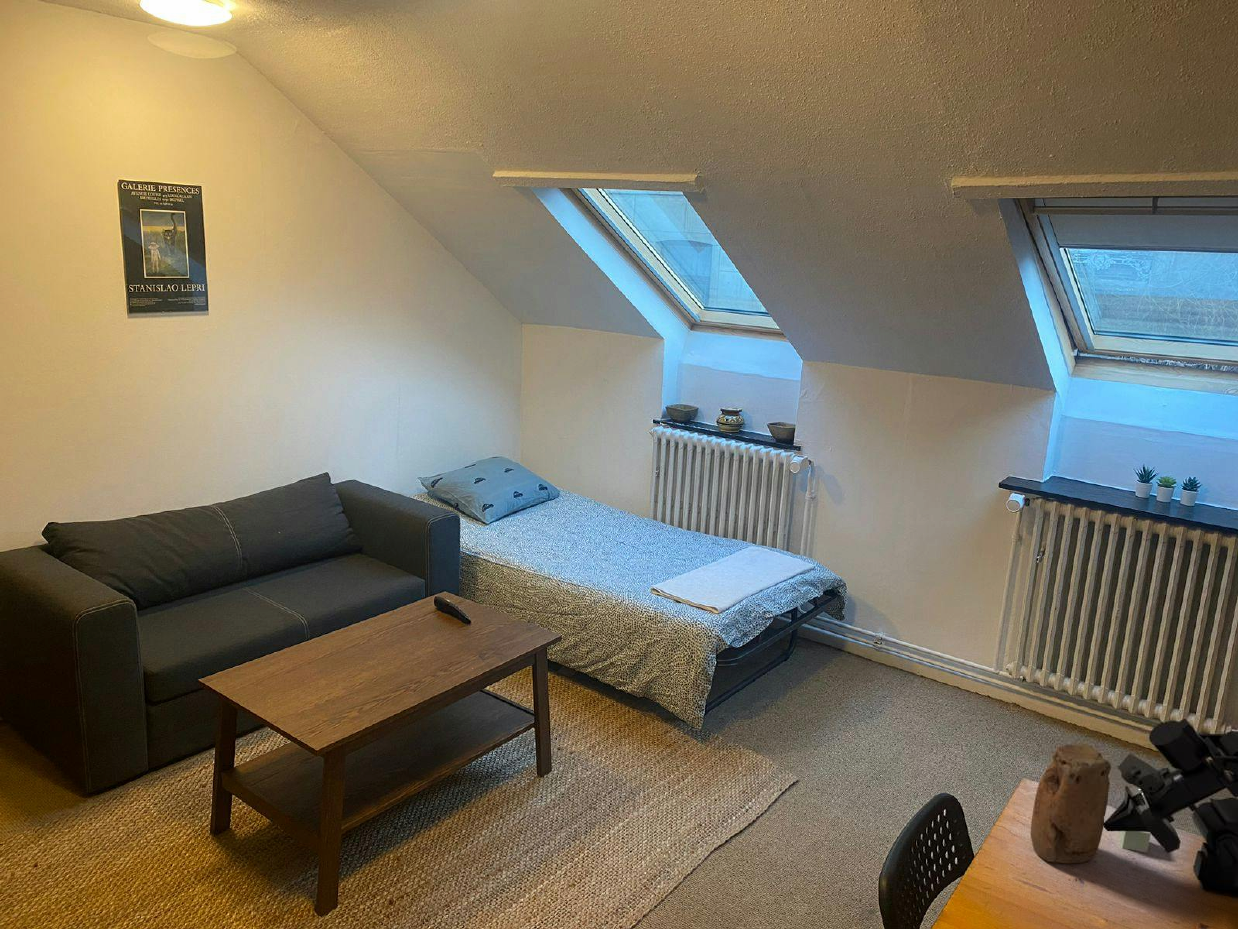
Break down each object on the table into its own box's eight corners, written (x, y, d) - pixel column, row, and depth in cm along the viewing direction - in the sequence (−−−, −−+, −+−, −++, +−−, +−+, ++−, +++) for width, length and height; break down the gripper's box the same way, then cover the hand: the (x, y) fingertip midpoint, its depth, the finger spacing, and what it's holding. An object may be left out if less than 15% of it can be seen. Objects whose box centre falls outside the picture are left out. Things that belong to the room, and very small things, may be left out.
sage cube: (1141, 839, 169) (1145, 820, 168) (1146, 853, 165) (1150, 833, 164) (1117, 835, 170) (1120, 816, 169) (1122, 848, 166) (1125, 829, 165)
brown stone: (1072, 836, 169) (1089, 739, 164) (1102, 863, 162) (1120, 762, 157) (1021, 843, 166) (1037, 745, 161) (1049, 871, 159) (1066, 769, 154)
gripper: (1143, 721, 164) (1066, 764, 170) (1171, 778, 146) (1084, 824, 152) (1184, 769, 164) (1105, 810, 169) (1217, 832, 146) (1128, 875, 152)
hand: (1105, 828), depth 161 cm, fingers closed
